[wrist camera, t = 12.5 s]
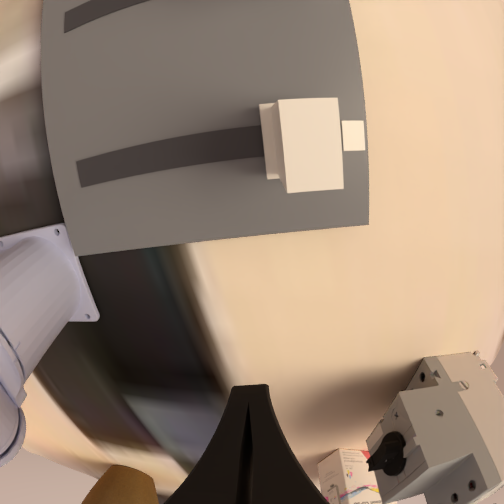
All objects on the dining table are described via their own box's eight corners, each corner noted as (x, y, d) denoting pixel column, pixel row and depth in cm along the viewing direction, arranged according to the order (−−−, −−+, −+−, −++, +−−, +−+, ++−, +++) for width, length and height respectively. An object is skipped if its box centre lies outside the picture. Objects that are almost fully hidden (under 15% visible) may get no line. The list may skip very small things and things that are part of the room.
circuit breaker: (367, 361, 23) (421, 520, 9) (478, 350, 23) (542, 453, 10) (342, 412, 26) (370, 544, 12) (447, 397, 26) (492, 494, 13)
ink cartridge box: (385, 450, 31) (408, 537, 17) (361, 466, 32) (379, 548, 19) (338, 447, 29) (357, 550, 16) (315, 463, 31) (327, 558, 18)
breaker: (266, 176, 14) (273, 200, 10) (258, 105, 13) (261, 95, 9) (326, 171, 14) (357, 193, 10) (320, 101, 13) (351, 92, 8)
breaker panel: (87, 245, 18) (74, 257, 17) (58, -13, 10) (44, -20, 9) (358, 215, 18) (369, 225, 16) (319, -68, 9) (325, -82, 8)
